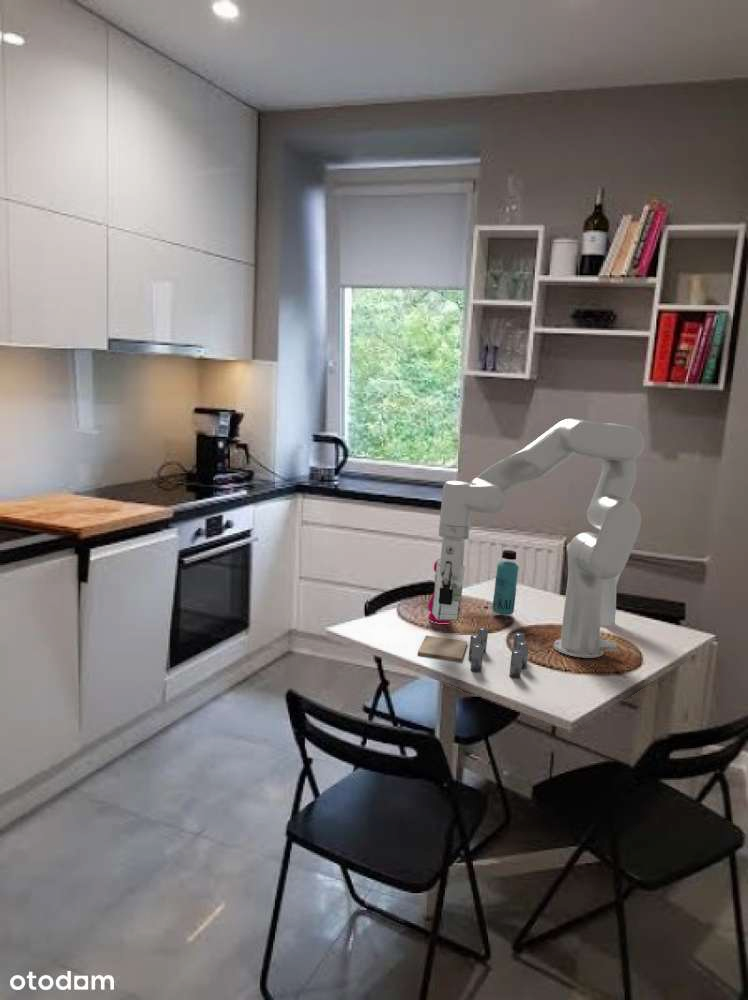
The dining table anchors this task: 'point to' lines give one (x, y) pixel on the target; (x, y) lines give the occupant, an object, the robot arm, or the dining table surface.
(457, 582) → the syrup box
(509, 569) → the beverage bottle
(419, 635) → the dining table surface
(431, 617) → the pepper mill
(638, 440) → the robot arm
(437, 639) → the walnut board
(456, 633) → the dining table surface
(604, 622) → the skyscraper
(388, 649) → the dining table surface
